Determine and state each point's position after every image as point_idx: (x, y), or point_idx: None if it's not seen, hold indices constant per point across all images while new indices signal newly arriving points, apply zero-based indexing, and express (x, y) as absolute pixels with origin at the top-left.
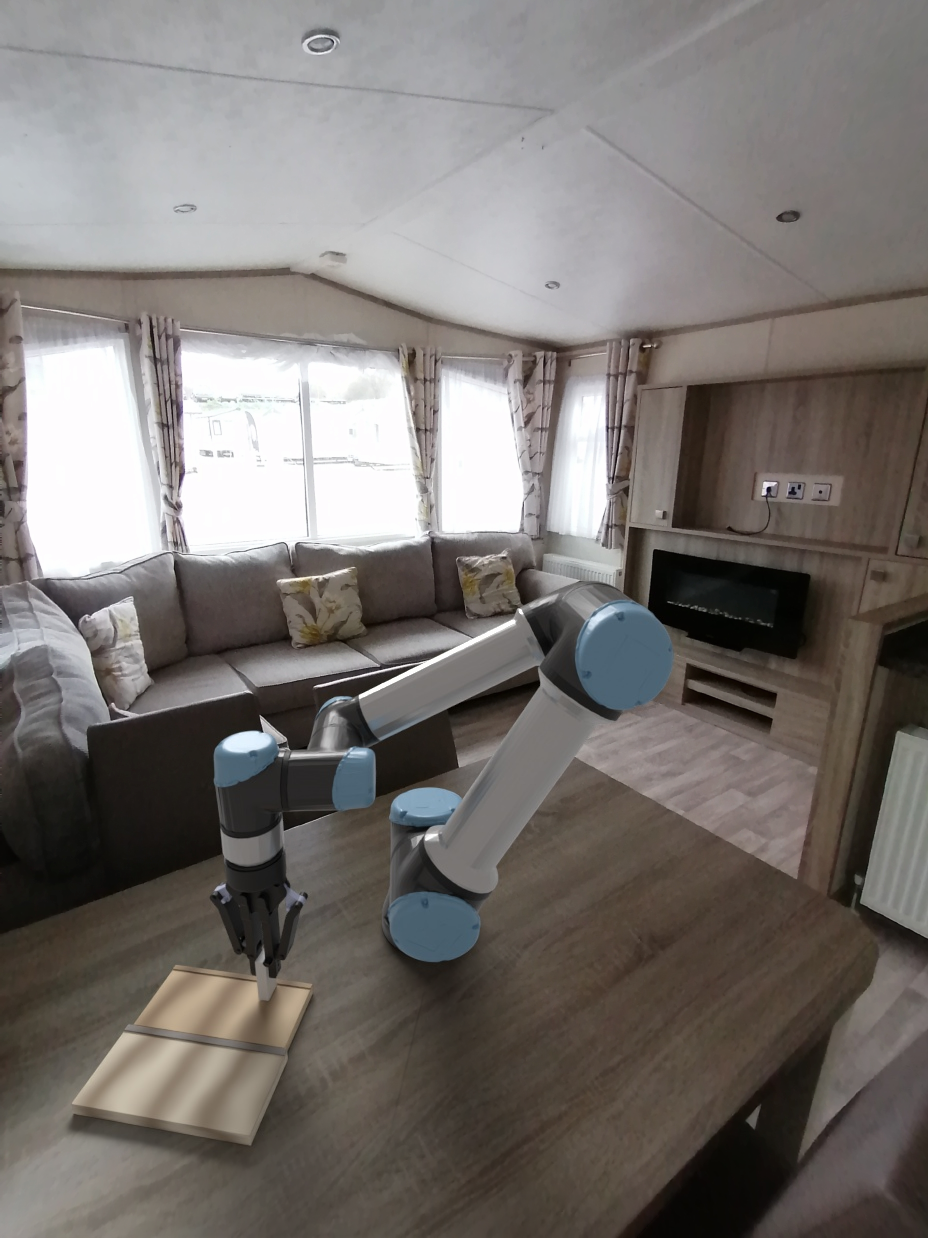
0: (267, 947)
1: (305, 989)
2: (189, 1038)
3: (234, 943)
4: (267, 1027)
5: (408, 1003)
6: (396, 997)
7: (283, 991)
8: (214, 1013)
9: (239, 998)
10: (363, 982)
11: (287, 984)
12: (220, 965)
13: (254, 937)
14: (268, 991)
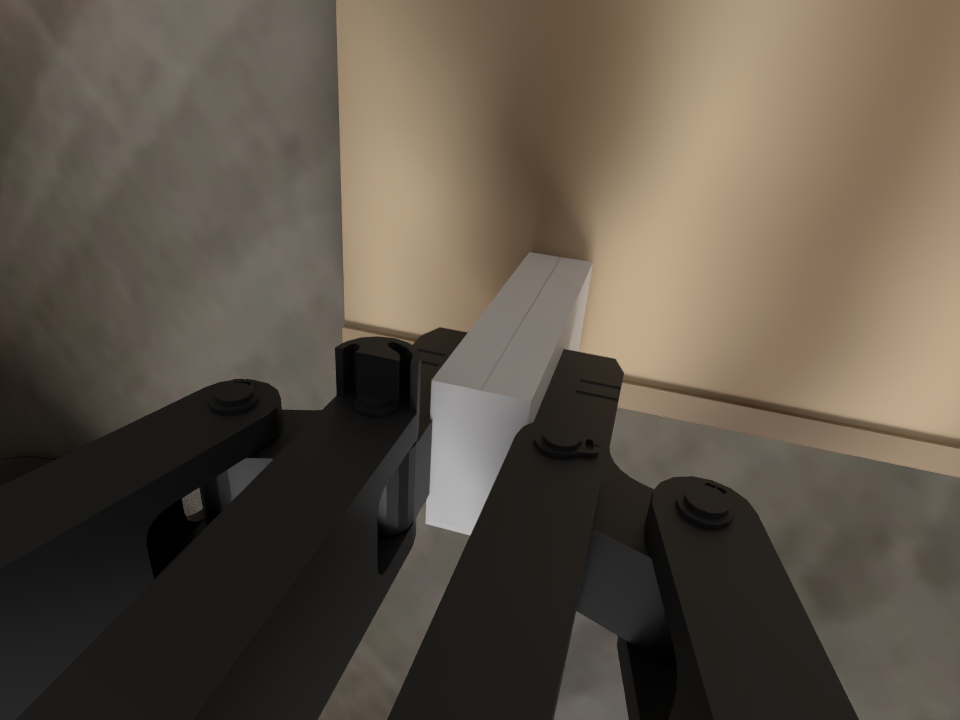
0: (307, 490)
1: (368, 325)
2: None
3: (751, 601)
4: (482, 80)
5: (10, 273)
6: (59, 300)
7: (474, 316)
8: (875, 165)
9: (721, 276)
10: (198, 372)
11: None
12: (916, 518)
13: (431, 633)
14: (512, 280)
